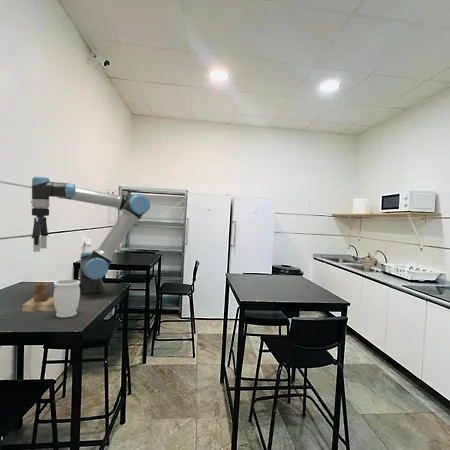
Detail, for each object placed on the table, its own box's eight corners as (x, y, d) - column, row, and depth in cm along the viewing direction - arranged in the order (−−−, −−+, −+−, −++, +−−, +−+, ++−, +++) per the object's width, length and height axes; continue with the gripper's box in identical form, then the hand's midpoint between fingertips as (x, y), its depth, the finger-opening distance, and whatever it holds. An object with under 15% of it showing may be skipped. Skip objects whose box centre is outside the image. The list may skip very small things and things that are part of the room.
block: (49, 298, 150) (49, 282, 150) (45, 301, 145) (46, 284, 145) (37, 299, 148) (37, 282, 148) (34, 301, 144) (34, 285, 143)
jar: (51, 319, 130) (52, 285, 130) (54, 312, 140) (55, 280, 139) (79, 317, 134) (79, 283, 134) (79, 310, 144) (80, 279, 144)
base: (61, 302, 155) (61, 296, 155) (53, 310, 142) (53, 303, 142) (32, 303, 152) (32, 296, 152) (21, 311, 138) (21, 304, 138)
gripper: (38, 208, 164) (38, 247, 164) (24, 207, 140) (24, 253, 141) (54, 208, 166) (53, 247, 167) (43, 207, 142) (42, 252, 143)
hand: (40, 250), depth 154 cm, fingers open, 13 cm apart
